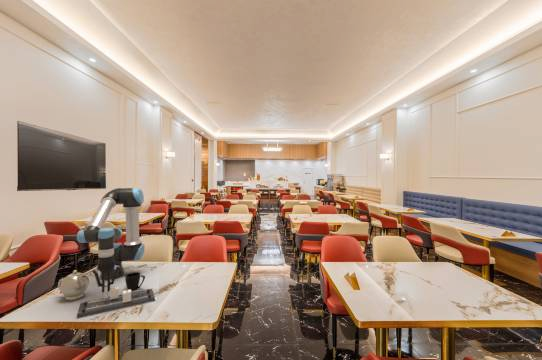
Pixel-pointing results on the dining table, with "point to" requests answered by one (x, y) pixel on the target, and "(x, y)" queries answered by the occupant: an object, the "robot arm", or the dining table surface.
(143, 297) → the console
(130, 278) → the mug
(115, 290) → the fader
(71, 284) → the teapot
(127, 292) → the fader
